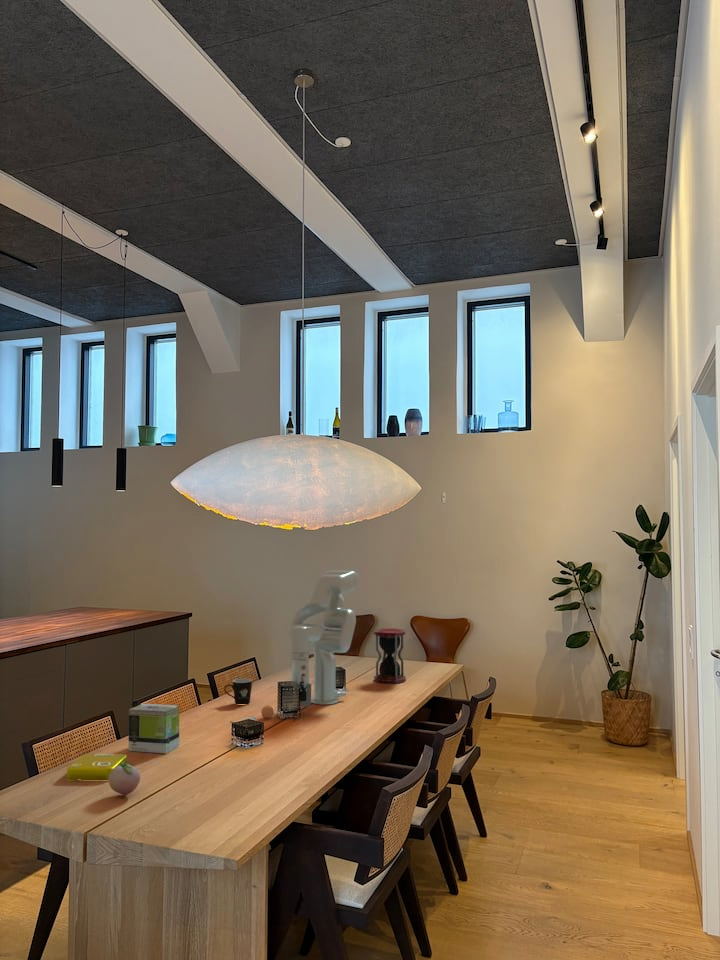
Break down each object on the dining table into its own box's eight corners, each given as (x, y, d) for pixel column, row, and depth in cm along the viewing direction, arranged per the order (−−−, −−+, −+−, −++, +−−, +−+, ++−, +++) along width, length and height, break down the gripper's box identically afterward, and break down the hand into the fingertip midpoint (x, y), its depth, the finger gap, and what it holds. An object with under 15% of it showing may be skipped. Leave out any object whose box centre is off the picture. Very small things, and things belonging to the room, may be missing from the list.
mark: (252, 716, 310) (252, 716, 310) (258, 722, 301) (258, 722, 301) (228, 719, 306) (228, 718, 306) (233, 725, 297) (233, 724, 297)
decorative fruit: (103, 795, 221) (103, 761, 222) (128, 788, 227) (129, 755, 228) (118, 804, 215) (118, 768, 215) (144, 796, 220) (144, 762, 221)
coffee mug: (254, 701, 336) (254, 678, 336) (249, 706, 327) (249, 682, 328) (228, 700, 337) (228, 678, 337) (223, 705, 328) (223, 682, 329)
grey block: (305, 702, 317) (305, 681, 318) (310, 706, 310) (311, 684, 310) (287, 703, 314) (287, 682, 315) (292, 707, 307) (293, 685, 307)
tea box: (180, 746, 270) (180, 704, 270) (165, 754, 260) (165, 711, 261) (142, 743, 274) (143, 702, 274) (127, 751, 264) (127, 708, 265)
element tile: (128, 767, 248) (128, 752, 249) (111, 782, 233) (112, 767, 234) (83, 766, 249) (83, 752, 249) (64, 782, 234) (64, 766, 234)
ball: (271, 716, 310) (271, 703, 311) (275, 719, 306) (275, 706, 306) (259, 717, 308) (259, 705, 309) (263, 720, 304) (263, 707, 304)
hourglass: (368, 678, 382) (368, 629, 384) (396, 676, 389) (396, 627, 390) (382, 685, 368) (382, 633, 369) (411, 682, 374) (411, 631, 376)
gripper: (315, 658, 307) (314, 702, 305) (302, 652, 323) (301, 694, 321) (297, 659, 304) (296, 703, 302) (285, 653, 320) (284, 695, 319)
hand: (299, 698), depth 312 cm, fingers closed on grey block, 7 cm apart
